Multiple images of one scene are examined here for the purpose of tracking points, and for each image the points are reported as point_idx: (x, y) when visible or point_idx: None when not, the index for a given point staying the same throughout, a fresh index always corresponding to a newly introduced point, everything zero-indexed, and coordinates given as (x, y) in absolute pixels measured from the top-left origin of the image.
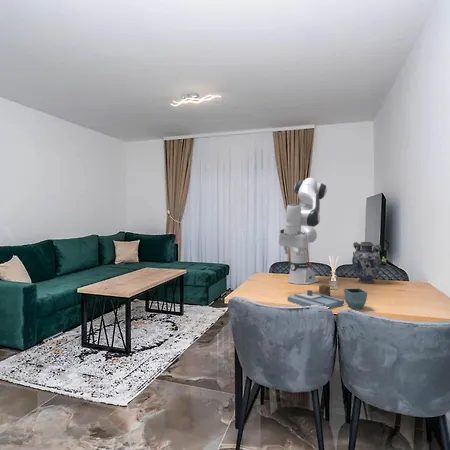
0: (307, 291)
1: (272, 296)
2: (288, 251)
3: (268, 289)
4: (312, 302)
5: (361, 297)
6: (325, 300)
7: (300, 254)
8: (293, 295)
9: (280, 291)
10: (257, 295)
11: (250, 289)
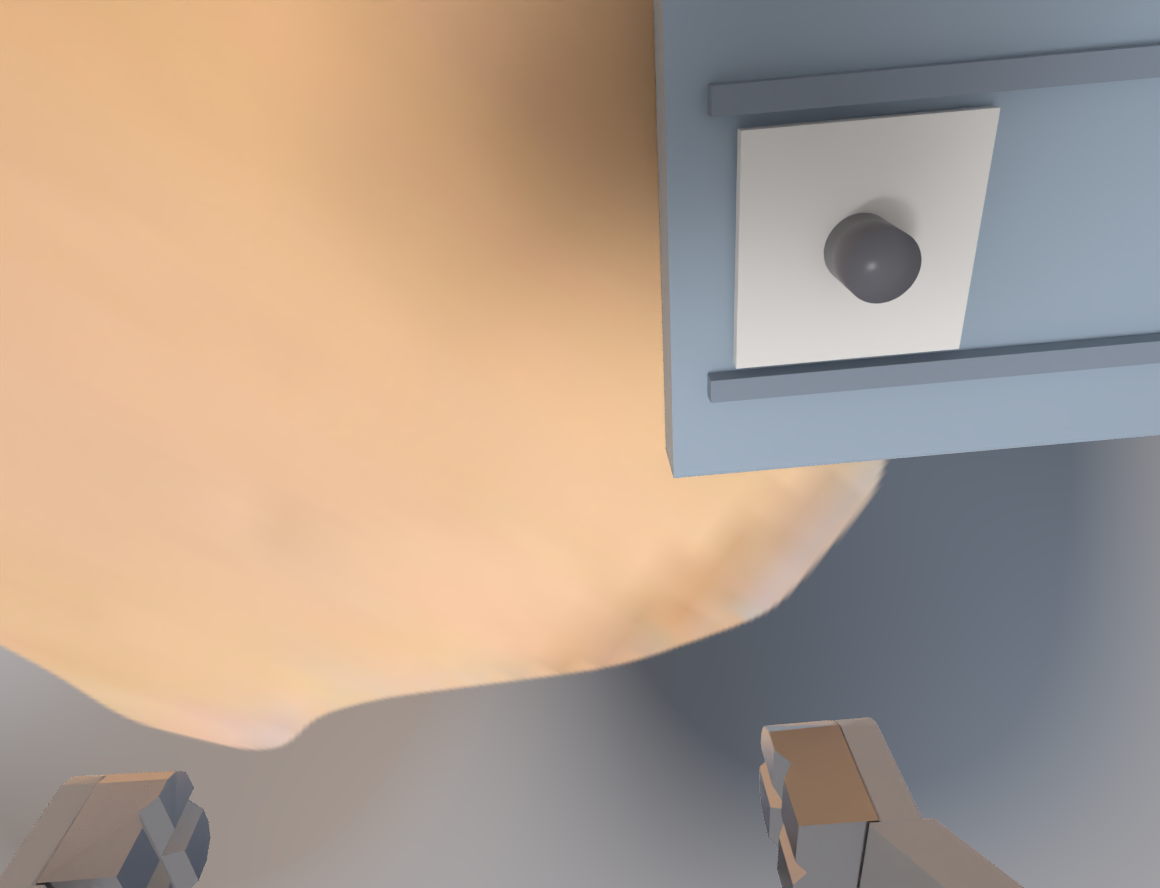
0: (858, 296)
1: (419, 483)
2: (138, 871)
3: (53, 330)
4: (1031, 394)
5: None
6: (1114, 184)
7: (886, 744)
8: (676, 390)
9: (220, 246)
10: (312, 591)
11: (2, 528)
